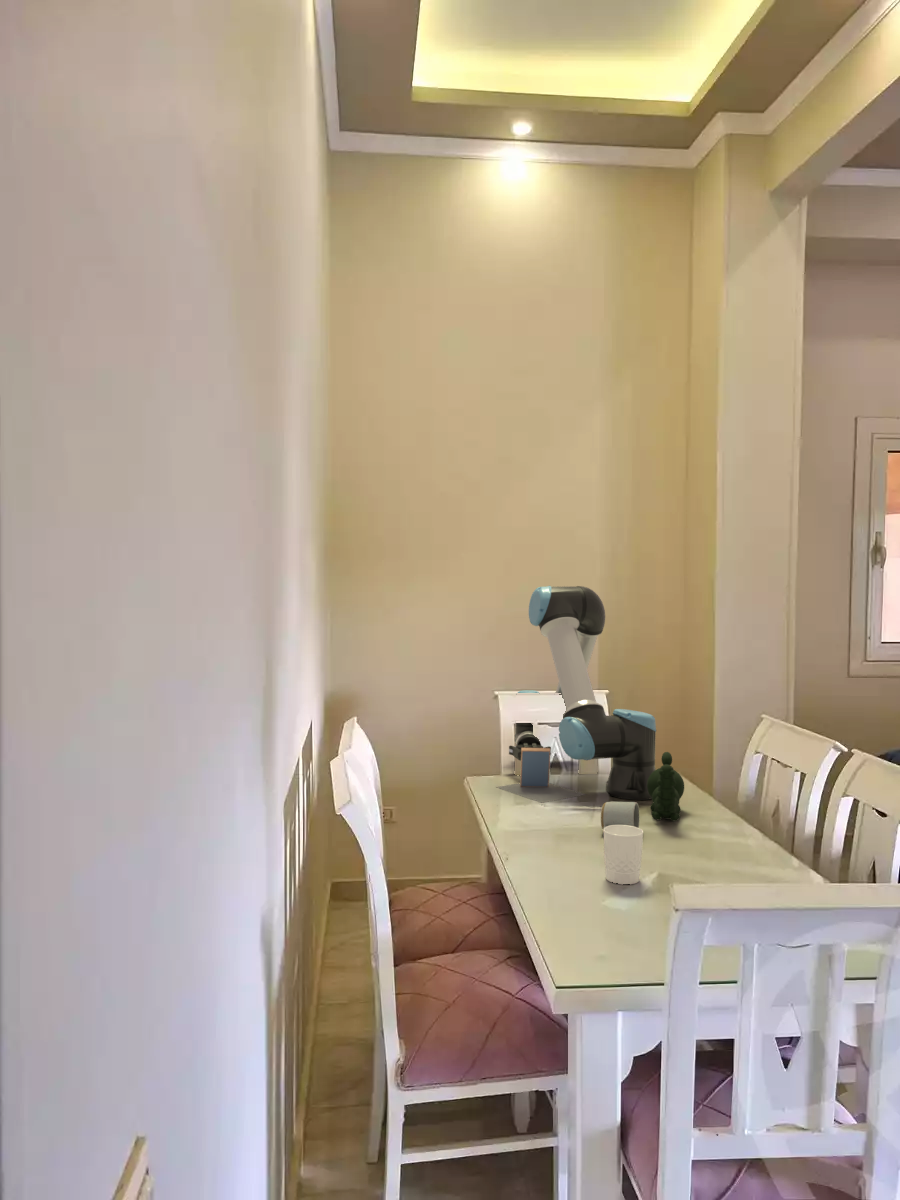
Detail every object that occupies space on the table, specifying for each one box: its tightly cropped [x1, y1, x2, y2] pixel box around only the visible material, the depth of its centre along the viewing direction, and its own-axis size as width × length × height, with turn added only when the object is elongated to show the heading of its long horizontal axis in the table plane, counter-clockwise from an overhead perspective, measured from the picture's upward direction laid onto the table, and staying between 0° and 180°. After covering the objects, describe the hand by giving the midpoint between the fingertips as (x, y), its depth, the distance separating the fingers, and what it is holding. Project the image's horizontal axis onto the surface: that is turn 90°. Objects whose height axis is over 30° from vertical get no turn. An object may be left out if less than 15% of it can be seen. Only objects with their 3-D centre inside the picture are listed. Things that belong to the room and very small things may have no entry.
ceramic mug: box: [600, 801, 640, 830], centre depth 211 cm, size 11×8×8 cm
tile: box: [519, 748, 551, 787], centre depth 252 cm, size 2×8×12 cm, turn 88°
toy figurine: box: [647, 751, 685, 822], centre depth 228 cm, size 9×19×25 cm
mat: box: [495, 782, 587, 804], centre depth 249 cm, size 20×16×1 cm
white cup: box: [602, 825, 644, 885], centre depth 181 cm, size 8×8×10 cm
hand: (532, 761), depth 254 cm, fingers closed
